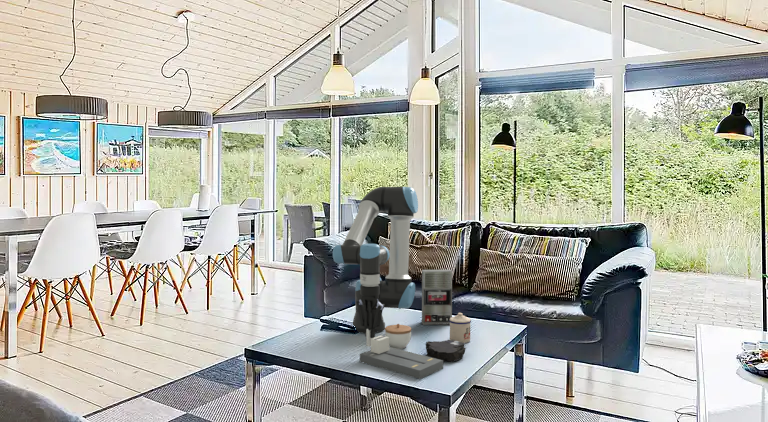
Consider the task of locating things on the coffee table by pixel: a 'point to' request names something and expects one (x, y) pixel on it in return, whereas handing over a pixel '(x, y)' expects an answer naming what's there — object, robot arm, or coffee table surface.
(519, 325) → the coffee table surface
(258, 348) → the coffee table surface
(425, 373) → the fader console
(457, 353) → the rock sample
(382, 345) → the fader knob
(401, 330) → the lidded jar
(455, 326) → the teacup with lid
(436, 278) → the cassette tape recorder
